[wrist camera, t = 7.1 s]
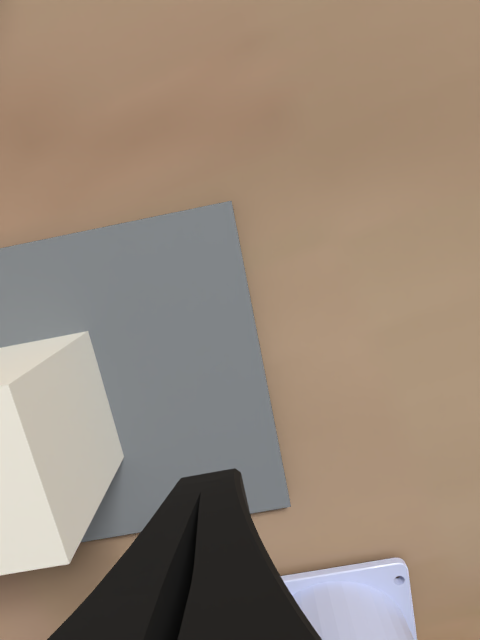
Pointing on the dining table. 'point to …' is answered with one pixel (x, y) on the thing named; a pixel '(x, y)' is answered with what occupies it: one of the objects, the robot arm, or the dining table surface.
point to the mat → (157, 351)
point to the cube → (52, 450)
